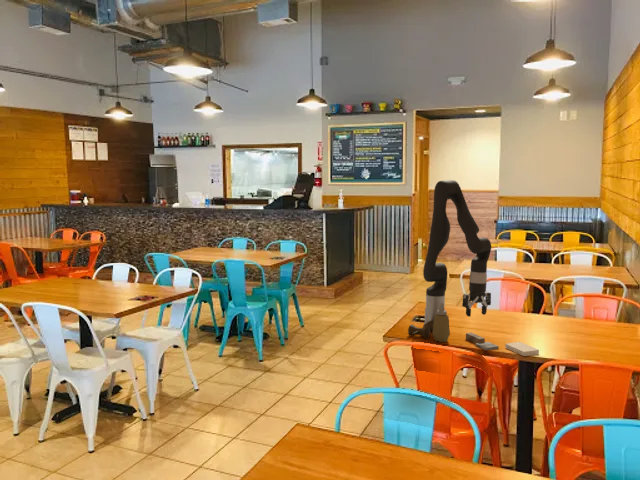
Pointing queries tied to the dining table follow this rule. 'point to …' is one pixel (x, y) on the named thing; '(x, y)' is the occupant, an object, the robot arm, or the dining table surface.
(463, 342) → the dining table surface
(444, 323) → the squeeze bottle
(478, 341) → the dark piece
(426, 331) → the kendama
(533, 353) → the ceramic tile
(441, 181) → the robot arm
